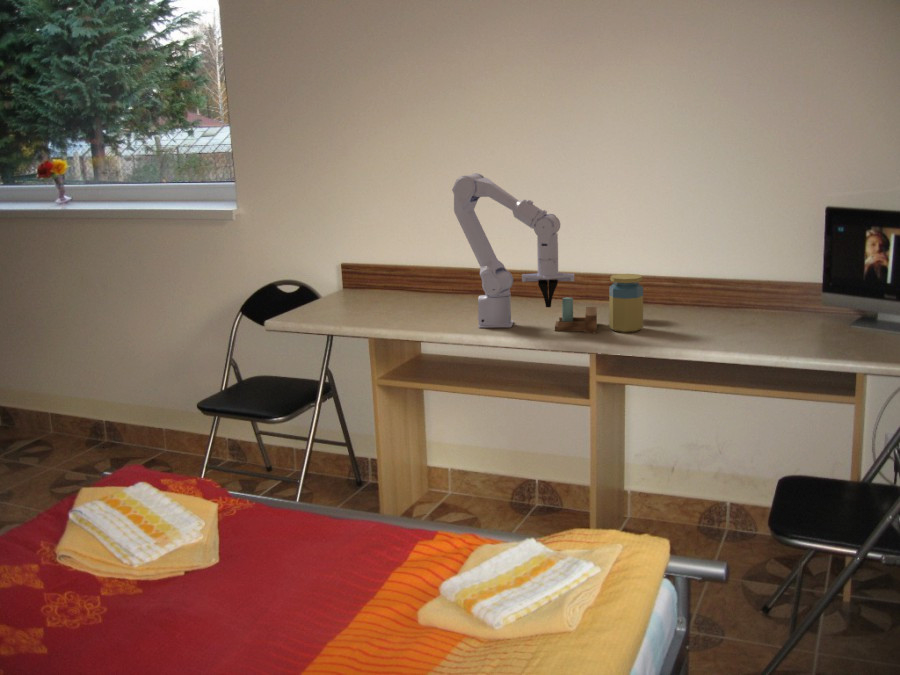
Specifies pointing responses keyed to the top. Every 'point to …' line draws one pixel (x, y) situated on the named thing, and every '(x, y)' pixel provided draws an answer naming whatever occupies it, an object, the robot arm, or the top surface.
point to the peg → (567, 309)
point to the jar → (626, 303)
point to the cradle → (580, 322)
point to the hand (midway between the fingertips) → (548, 306)
